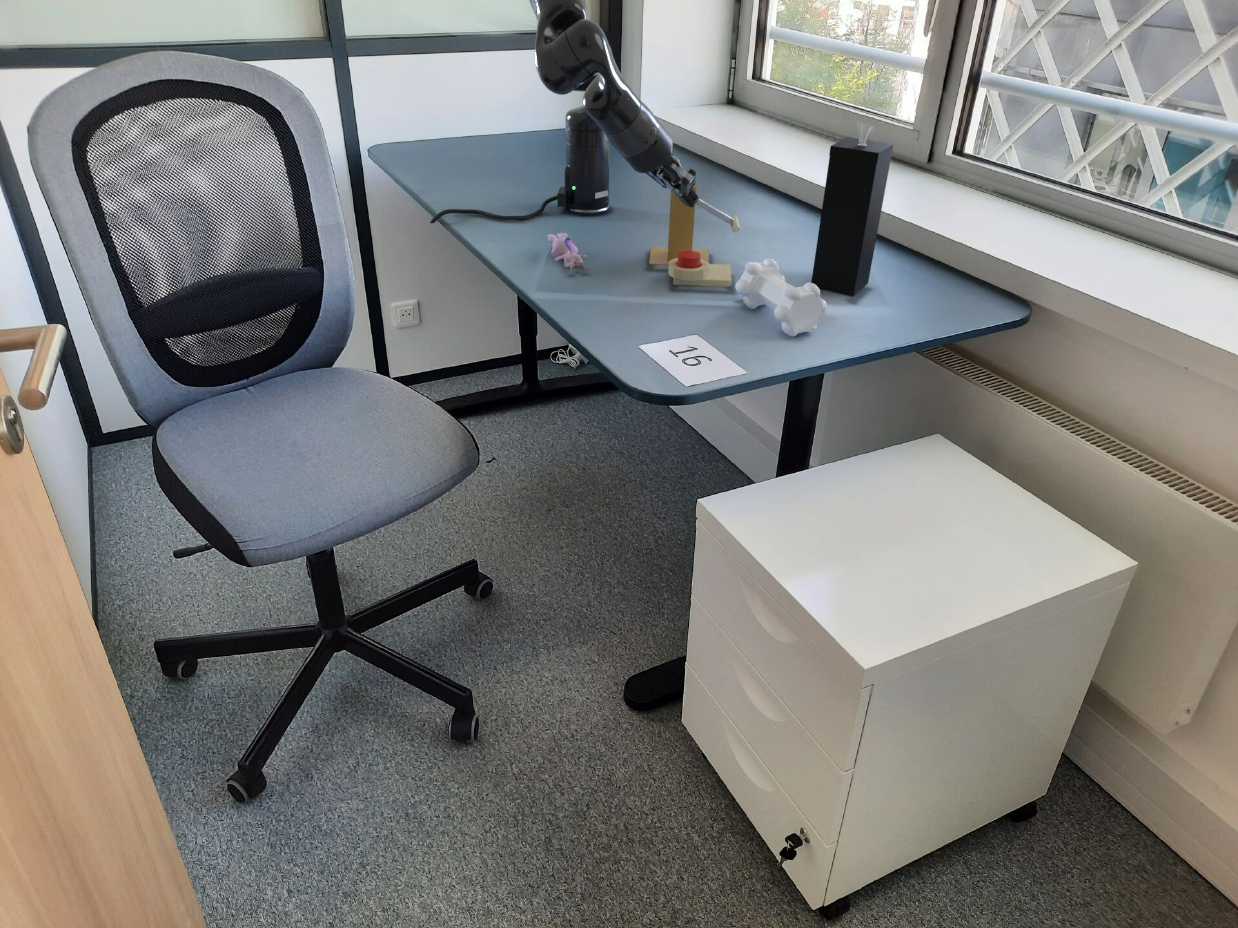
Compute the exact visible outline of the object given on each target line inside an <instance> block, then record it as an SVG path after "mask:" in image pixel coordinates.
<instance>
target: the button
mask: <svg viewBox="0 0 1238 928" xmlns="http://www.w3.org/2000/svg"><path fill="white" fill-rule="evenodd" d="M700 262H701V254H700V253H698V252H695V251H682V252H679V253H678V259H677V266H679V267H682V268H690V269H693V268H699V267H700Z"/></svg>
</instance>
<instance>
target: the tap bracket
mask: <svg viewBox="0 0 1238 928" xmlns="http://www.w3.org/2000/svg"><path fill="white" fill-rule="evenodd" d="M692 189H693V190H694V192H695V193H696V194H697V183H696V184H695V186H693V188H692ZM669 199H670V201H669V202H670V203H669V204H670V205H669V220H668V240H667V247H652V246H651V247H650V251H649V259H648V260H649V261H648V264H649V265H655V266H656V265H657V266H669V261H671V260H672V259H674V258H678V253H679V252H682V251H695V252H698V253H700V254H701V259H703V260H705V261H706V262H708V263H709V264H710V255H709V254H710V253H709V249H703V248H702V249H701V248H700V249H699V248H698V249H697V248H693V245H694V242H693V241H694V227H695V214H696V204H695V205H694V206H693V207H692V208H691V207H689V206H686V205H685V204H684V203H683V202H682V201H681V200H680V198H679V197H678V196H677V195H676V194H675V193H672V192H671V191H670V198H669Z"/></svg>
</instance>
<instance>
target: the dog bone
mask: <svg viewBox="0 0 1238 928" xmlns="http://www.w3.org/2000/svg"><path fill="white" fill-rule="evenodd" d="M735 290H736V292H737V293H738V294H739V295H742V302H743V304H744V305H745V306H746V308H748V309H751V310H755V309H757V308H758V307H759V306H766V307H767V308H769V309H771V310H772V311H773V315H774V317H775V319H777V320H778V321H780V322H781V329H782V331H783V332H784V334H786V335H787V336H789V337H796V336H797V335H798V334H801V333H811V332H814V331H815V330H816V329H817V324H818V323H819V321H820V320H821V318H822V316H823V315H824V314H825V312H827V309H828V303H827V302H826V300H824V299H823V298H822V297H821V289H819V288H818V287H817V286H816V285H815V284H813V283H811V282H805V283H804V284H803V285H802V286H793V285H792V284H790V283H789V282H787V281H786V278H785V276H784V275H783V274H781V273H780V271H779V264H778V263H777V261H776V260H774V259H772V258H770V257H767V258H765V259H764V260H762V261H761V262H760V261H759V262H755V261H750V262H747V263H746V264H745V265H744V271H743V273H742V274H741V277H740V278H739V279H738V280H737V281H736V282H735Z"/></svg>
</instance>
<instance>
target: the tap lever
mask: <svg viewBox="0 0 1238 928" xmlns="http://www.w3.org/2000/svg"><path fill="white" fill-rule="evenodd" d="M695 206H697V207H699V208H700V209H703V210H704V211H706V212H708V213H710V214H711V215H713V216H714V217H716V218H717V219H720V220H721V221H723V222H724V223H726V224H728V225H730V228H731V231H732V233H735V234H736V233H738V232H739V231H740V223H739V222H740V221H739V217H738V216H737V215H736V214H732V215H728V214H726V213H725V212H722V211H721V210H719V209H718V208H717V207H715V206H713V205H711V204H710V203H709V202H706V201H705V200H703V199H701V198H700V197H699V199H698V201H697V202H696V204H695Z"/></svg>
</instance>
